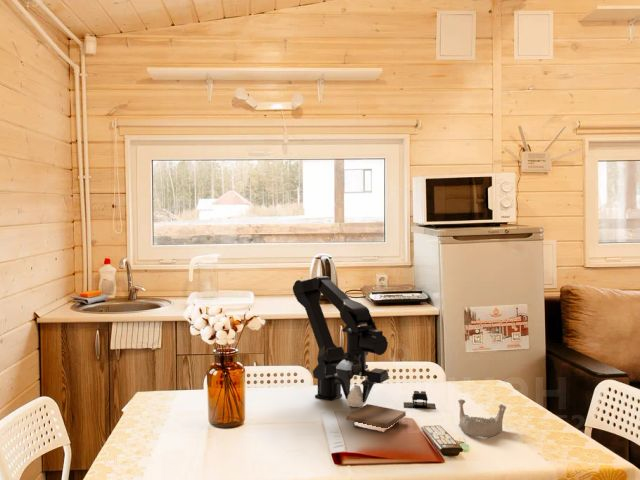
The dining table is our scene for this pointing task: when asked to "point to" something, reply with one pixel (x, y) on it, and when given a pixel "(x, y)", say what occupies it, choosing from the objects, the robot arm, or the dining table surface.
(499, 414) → the anatomical model
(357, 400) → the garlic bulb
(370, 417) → the walnut stand
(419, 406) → the build plate
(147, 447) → the dining table surface
